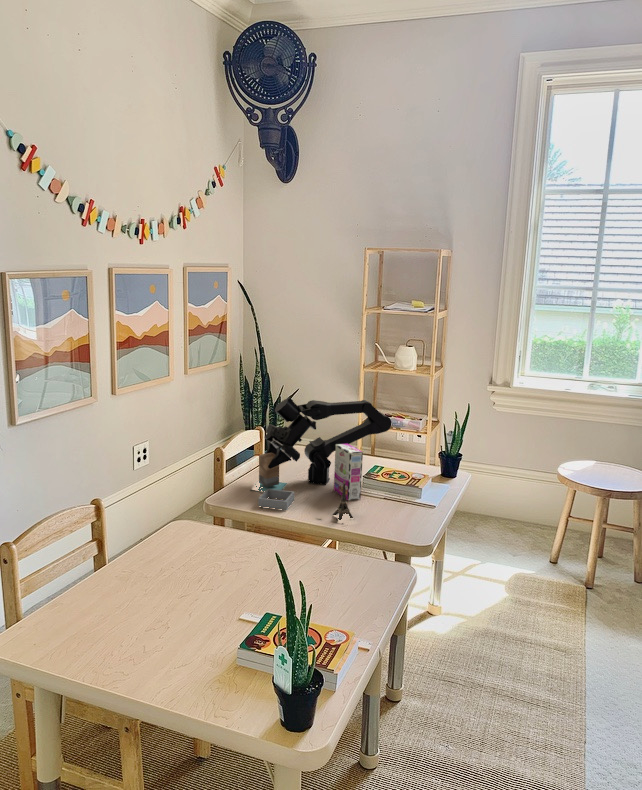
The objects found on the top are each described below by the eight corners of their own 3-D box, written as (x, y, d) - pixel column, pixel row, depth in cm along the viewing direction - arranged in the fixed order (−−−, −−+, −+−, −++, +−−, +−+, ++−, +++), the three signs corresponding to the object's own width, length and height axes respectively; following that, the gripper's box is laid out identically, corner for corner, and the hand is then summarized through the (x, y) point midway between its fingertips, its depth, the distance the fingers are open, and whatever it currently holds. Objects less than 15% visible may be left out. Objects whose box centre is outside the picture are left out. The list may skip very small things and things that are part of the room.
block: (279, 484, 224) (279, 456, 222) (266, 487, 221) (266, 458, 219) (271, 480, 228) (271, 452, 226) (258, 482, 225) (259, 454, 223)
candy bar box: (361, 499, 216) (363, 451, 212) (348, 501, 214) (350, 453, 210) (346, 488, 226) (347, 442, 222) (333, 490, 224) (334, 443, 220)
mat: (287, 484, 228) (287, 482, 228) (278, 493, 219) (278, 492, 219) (259, 481, 231) (259, 480, 230) (250, 490, 221) (250, 489, 221)
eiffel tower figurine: (312, 520, 199) (313, 478, 196) (325, 509, 208) (326, 469, 205) (359, 529, 193) (361, 486, 190) (370, 517, 202) (372, 476, 200)
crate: (294, 500, 213) (294, 491, 213) (286, 510, 204) (286, 501, 204) (267, 497, 215) (267, 488, 215) (258, 507, 206) (258, 498, 206)
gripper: (270, 410, 229) (240, 443, 227) (292, 422, 213) (260, 459, 211) (290, 429, 235) (261, 463, 232) (313, 443, 218) (282, 479, 216)
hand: (265, 465), depth 222 cm, fingers closed on block, 5 cm apart
